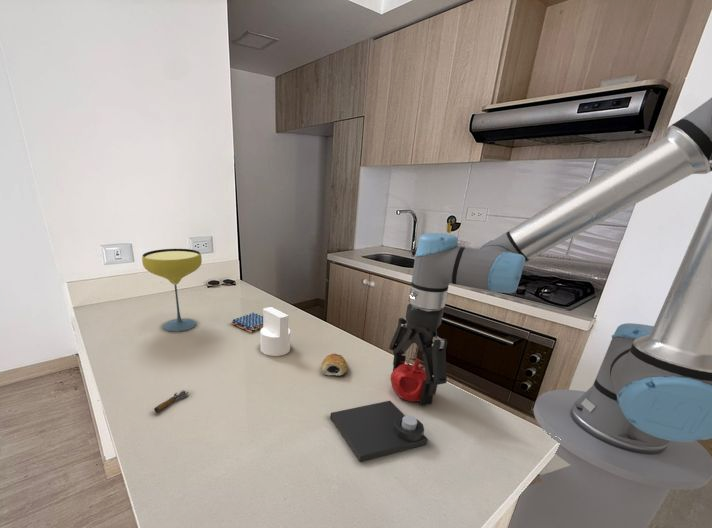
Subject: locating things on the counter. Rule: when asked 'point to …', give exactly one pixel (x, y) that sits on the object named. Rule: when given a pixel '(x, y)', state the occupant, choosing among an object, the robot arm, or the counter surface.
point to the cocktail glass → (173, 275)
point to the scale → (376, 430)
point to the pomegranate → (408, 381)
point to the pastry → (334, 365)
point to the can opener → (170, 401)
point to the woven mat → (249, 322)
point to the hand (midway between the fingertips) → (410, 390)
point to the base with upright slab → (274, 333)
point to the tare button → (409, 423)
